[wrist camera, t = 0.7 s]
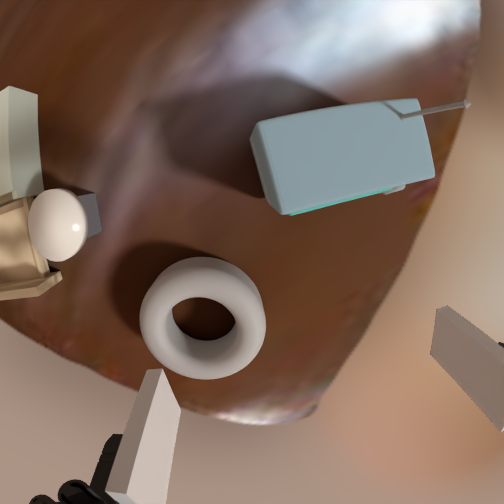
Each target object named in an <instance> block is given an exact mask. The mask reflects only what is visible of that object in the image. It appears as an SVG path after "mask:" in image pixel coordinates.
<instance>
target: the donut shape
mask: <svg viewBox="0 0 504 504" xmlns="http://www.w3.org/2000/svg"><path fill="white" fill-rule="evenodd" d="M192 297H204V298H209V299H212V300H215V301H217V302H219V303H221V304H222V305H224V306H225V307H226V308H227V309H228V310H229V311H230V312H231V313H232V315H233V316H234V318H235V321H236V323H235V325H234V327H233V329H232V330H231V331H230V332H229V333H228V334H227V335H225V336H224V337H222V338H219V339H216V340H211V341H203V340H198V339H194V338H192V337H190V336H188V335H186V334H185V333H183V332H182V331H181V330H180V329H179V328H178V326H177V325H176V323H175V321H174V319H173V315H172V308H173V306H174V305H176V304H177V303H178V302H180V301H182V300H185V299H188V298H192ZM140 329H141V333H142V336H143V339H144V341H145V343H146V345H147V347H148V349H149V350H150V352H151V353H152V354H153V355H154V356H155V358H156V359H157V360H158V361H160V362H161V363H162V364H163V365H164V366H166V367H167V368H169V369H170V370H172V371H174V372H176V373H178V374H181V375H184V376H187V377H191V378H196V379H217V378H222V377H226V376H229V375H231V374H234V373H236V372H238V371H239V370H241V369H243V368H244V367H245V366H247V365H248V364H249V363H250V362H251V361H252V360H253V359H254V357H255V356H256V355H257V353H258V352H259V350H260V348H261V346H262V344H263V341H264V337H265V331H266V320H265V314H264V309H263V305H262V300H261V297H260V294H259V292H258V290H257V288H256V286H255V285H254V283H253V282H252V280H251V279H250V278H249V277H248V276H247V275H246V274H245V273H244V272H243V271H242V270H240V269H239V268H238V267H236V266H234V265H232V264H231V263H228V262H226V261H223V260H220V259H217V258H211V257H192V258H187V259H184V260H181V261H178V262H176V263H174V264H172V265H171V266H169V267H168V268H166V269H165V270H164V271H163V272H162V273H161V274H160V275H159V276H158V277H157V279H156V280H155V281H154V283H153V284H152V286H151V287H150V288H149V290H148V291H147V293H146V295H145V297H144V299H143V302H142V305H141V309H140Z"/></svg>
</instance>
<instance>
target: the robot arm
mask: <svg viewBox="0 0 504 504" xmlns="http://www.w3.org/2000/svg"><path fill="white" fill-rule="evenodd" d="M430 355H431V356H432V357H433V358H434V359H435V360H436V361H437V362H438V363H439V364H440V365H441V366H442V367H443V368H444V369H445V371H446V372H447V373H448V374H449V375H450V376H451V377H452V378H453V379H454V380H455V381H456V382H457V384H458V385H459V386H460V387H461V388H462V389H463V390H464V391H465V392H466V393H467V395H468V396H469V397H470V398H471V399H472V400H473V401H474V402H475V403H476V405H477V406H478V407H479V408H480V409H481V410H482V411H483V412H484V414H485V415H486V416H487V417H488V418H489V420H490V421H491V422H492V423H493V424H494V426H495V427H496V428H497V429H498V430H499V432H502V431H503V430H504V343H501V342H499V343H497V342H495V341H494V340H493V339H491V338H490V337H489V336H488V335H486V334H485V333H484V332H482V331H481V330H480V329H479V328H477V327H476V326H475V325H473V324H472V323H471V322H469V321H468V320H467V319H465V318H464V317H463V316H461V315H460V314H459V313H457V312H456V311H454V310H453V309H452V308H450V307H449V306H445V307H442V308H439V309H437V310H436V317H435V325H434V332H433V339H432V345H431V351H430ZM180 413H181V409H180V407H179V405H178V403H177V401H176V399H175V396H174V394H173V392H172V390H171V387H170V385H169V383H168V380H167V378H166V376H165V373H164V371H163V369H153V370H147V372H146V374H145V377H144V379H143V382H142V385H141V387H140V390H139V393H138V395H137V398H136V401H135V404H134V406H133V409H132V411H131V414H130V417H129V420H128V423H127V426H126V428H125V431H124V434H113V435H112V436H111V437H110V438H109V439H108V440H107V442H106V443H105V445H104V448H103V451H102V454H101V456H100V459H99V462H98V464H97V467H96V469H95V472H94V475H93V478H92V481H91V483H90V486H88V485H87V484H86V483H85V482H83V481H81V480H70V481H67V482H66V483H64V484H63V485H62V486H61V488H60V489H59V492H58V500H59V501H60V502H55V501H54V500H52V499H51V498H50V497H48V496H46V495H38V496H35V497H34V498H33V499H32V500H31V501H30V503H29V504H166V498H167V491H168V484H169V477H170V471H171V465H172V459H173V452H174V447H175V440H176V435H177V430H178V424H179V418H180Z"/></svg>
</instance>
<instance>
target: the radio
mask: <svg viewBox="0 0 504 504" xmlns="http://www.w3.org/2000/svg"><path fill="white" fill-rule="evenodd" d="M470 104H471V103H470V102H468V101H466V100H464V101H463V102H458V103H453V104H448V105H443V106H438V107H433V108H429V109H424V110H421V108H420V105H419V102H418V100H417V99H416V98H407V99H393V100H382V101H372V102H363V103H355V104H347V105H340V106H334V107H327V108H321V109H315V110H310V111H304V112H299V113H294V114H289V115H284V116H279V117H275V118H270V119H266V120H262V121H259V122H257V123H256V125H255V127H254V129H253V132H252V134H251V137H250V144H251V147H252V151H253V155H254V158H255V162H256V165H257V169H258V173H259V176H260V180H261V184H262V187H263V191H264V195H265V198H266V201H267V203H268V204H270V205H271V206H272V207H273V208H274V209H275V210H277V211H278V212H279V213H280V214H281V215H285V214H288V215H296V214H300V213H303V212H307V211H311V210H315V209H318V208H322V207H326V206H330V205H334V204H338V203H342V202H345V201H349V200H353V199H357V198H361V197H365V196H369V195H373V194H377V193H383V194H385V195H386V194H389V193H393V192H396V191H399V190H402V189H404V188H405V184H409V183H413V182H417V181H421V180H426V179H430V178H433V177H435V171H434V165H433V160H432V155H431V150H430V145H429V140H428V136H427V132H426V128H425V124H424V120H423V116H422V115H424V114H429V113H434V112H439V111H444V110H450V109H455V108H461V107H466V108H468V107H469V105H470Z"/></svg>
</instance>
